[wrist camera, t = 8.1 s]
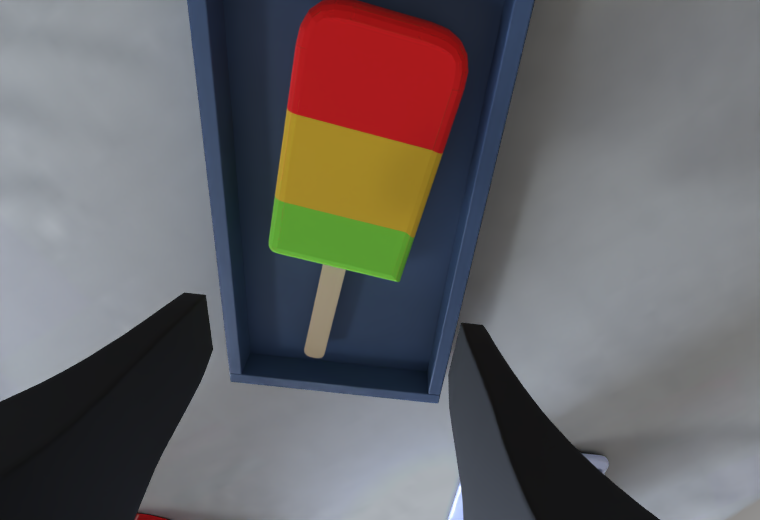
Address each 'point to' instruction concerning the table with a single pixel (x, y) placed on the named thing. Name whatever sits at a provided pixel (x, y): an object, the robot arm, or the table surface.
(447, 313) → the tray
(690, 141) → the table surface
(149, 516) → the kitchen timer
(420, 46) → the popsicle
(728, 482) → the table surface
